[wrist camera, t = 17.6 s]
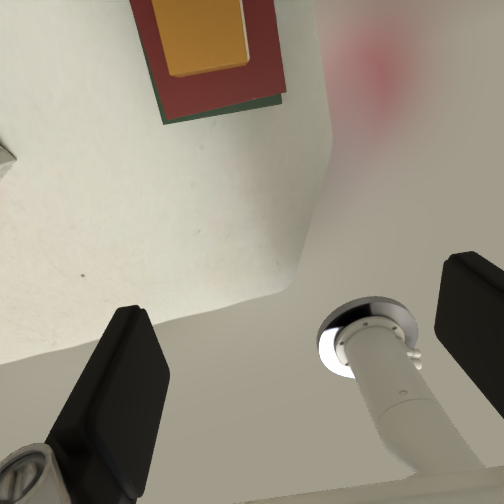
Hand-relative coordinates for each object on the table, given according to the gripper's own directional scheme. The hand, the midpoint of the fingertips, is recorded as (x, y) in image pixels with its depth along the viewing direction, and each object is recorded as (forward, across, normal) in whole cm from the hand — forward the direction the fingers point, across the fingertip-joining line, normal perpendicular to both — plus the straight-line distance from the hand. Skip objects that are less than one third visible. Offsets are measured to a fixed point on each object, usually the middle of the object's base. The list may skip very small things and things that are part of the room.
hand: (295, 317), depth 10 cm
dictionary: (+26, +3, -14) cm, 29 cm away
